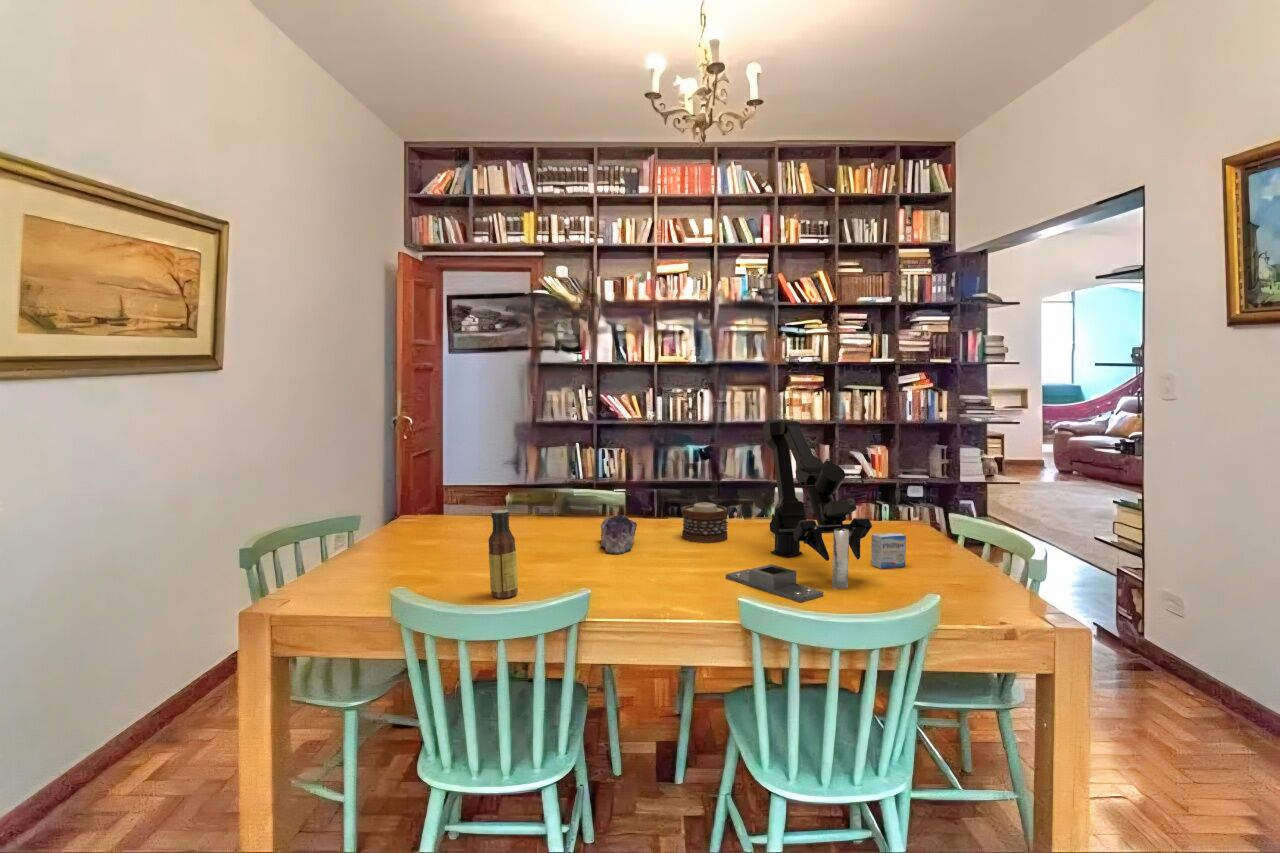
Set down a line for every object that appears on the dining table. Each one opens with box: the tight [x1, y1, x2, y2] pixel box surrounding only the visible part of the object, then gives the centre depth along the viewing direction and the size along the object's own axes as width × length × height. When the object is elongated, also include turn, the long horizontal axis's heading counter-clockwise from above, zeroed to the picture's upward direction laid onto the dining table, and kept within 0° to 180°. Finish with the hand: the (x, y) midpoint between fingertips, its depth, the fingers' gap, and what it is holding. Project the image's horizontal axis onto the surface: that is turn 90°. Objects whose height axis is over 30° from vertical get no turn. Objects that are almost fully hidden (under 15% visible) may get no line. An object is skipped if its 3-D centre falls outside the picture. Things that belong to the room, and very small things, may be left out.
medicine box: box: [870, 532, 907, 570], centre depth 189 cm, size 8×4×9 cm, turn 105°
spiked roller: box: [681, 501, 730, 544], centre depth 222 cm, size 15×11×15 cm
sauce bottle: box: [487, 509, 519, 599], centre depth 163 cm, size 7×6×20 cm
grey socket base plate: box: [725, 564, 824, 603], centre depth 171 cm, size 24×8×4 cm, turn 37°
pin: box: [831, 528, 850, 590], centre depth 170 cm, size 4×4×14 cm
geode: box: [600, 514, 638, 556], centre depth 210 cm, size 20×12×10 cm, turn 2°
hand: (843, 559), depth 169 cm, fingers open, 8 cm apart
